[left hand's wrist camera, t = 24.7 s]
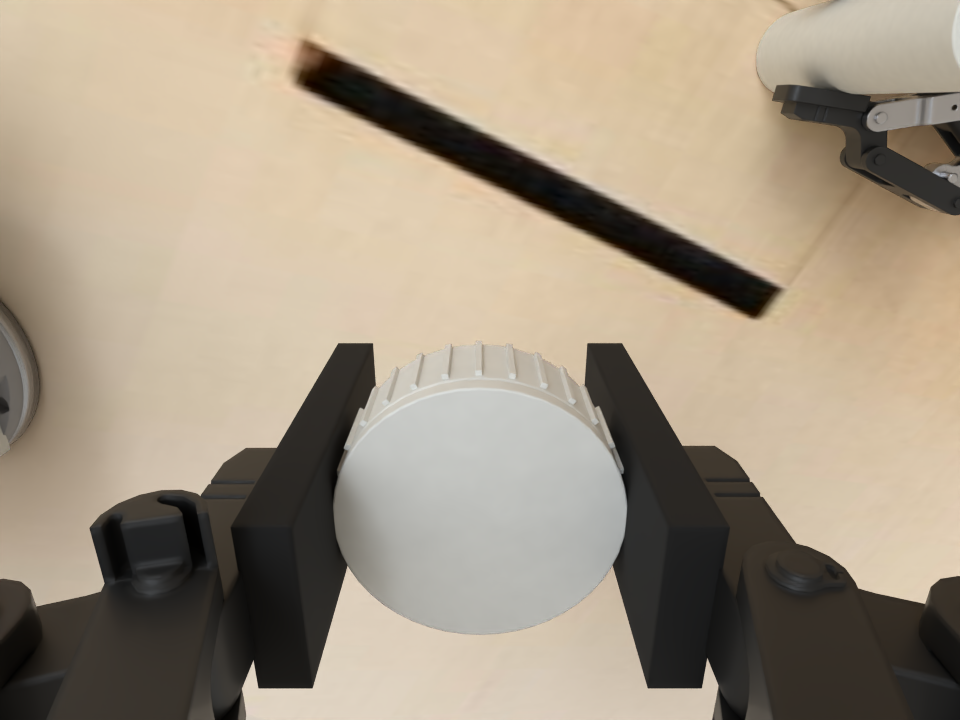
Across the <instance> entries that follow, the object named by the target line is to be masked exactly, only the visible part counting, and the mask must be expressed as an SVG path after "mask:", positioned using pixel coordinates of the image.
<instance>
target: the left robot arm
mask: <svg viewBox="0 0 960 720" xmlns="http://www.w3.org/2000/svg"><path fill="white" fill-rule="evenodd" d="M375 386H376V383H375V368H374V353H373V343H338V345H337V347H336V348H335V350H334V352H333V353H332V355H331V357H330V359H329V360H328V362H327V364H326V365H325V367H324V369H323V370H322V372H321V374H320V376H319V377H318V379H317V381H316V382H315V384H314V386H313V388H312V389H311V391H310V393H309V394H308V396H307V398H306V399H305V401H304V403H303V405H302V406H301V408H300V410H299V411H298V413H297V415H296V416H295V418H294V420H293V422H292V423H291V425H290V427H289V428H288V430H287V432H286V433H285V435H284V437H283V439H282V440H281V442H280V444H279V445H278V447H277V448H245V449H244V450H242V451H241V452H239V453H238V454H237V455H235V456H234V457H232V458H231V459H229V460H228V461H226V462H225V463H224V464H223V465H222V466H221V468H220V469H219V471H218V472H217V473H216V475H215V476H214V478H213V479H212V480H211V484H209V485H208V486H207V487H206V489H205V490H204V492H203V493H202V494H201V497H200V496H199V495H198V494H196V493H192V492H188V491H184V490H161V491H156V492H151V493H147V494H142V495H138V496H136V497H133V498H131V499H128V500H126V501H123V502H121V503H118V504H117V505H115V506H114V507H112V508H111V509H109V510H108V511H106V512H105V513H103V514H101V515H100V516H99V518H98V519H97V520H96V521H95V522H94V523H93V525H92V526H91V527H90V532H91V535H92V539H93V542H94V546H95V550H96V553H97V557H98V561H99V564H100V568H101V572H102V575H103V579H104V583H105V584H104V586H103V589H102V591H101V592H98V593H95V594H91V595H88V596H83V597H79V598H74V599H70V600H65V601H60V602H56V603H51V604H46V605H42V606H37V607H36V605H35V602H34V599H33V596H32V593H31V590H30V589H29V588H28V587H27V586H25V585H24V584H23V583H22V582H20V581H13V580H7V579H0V720H246V711H245V704H244V698H243V692H242V687H243V684H244V682H245V679H246V677H247V674H248V672H249V670H250V667H251V665H252V662H253V660H254V665H255V671H256V676H257V682H258V688H313V685H314V681H315V678H316V674H317V671H318V667H319V664H320V660H321V657H322V653H323V650H324V646H325V643H326V639H327V636H328V632H329V629H330V625H331V622H332V618H333V615H334V611H335V608H336V604H337V601H338V597H339V594H340V590H341V587H342V583H343V580H344V576H345V573H346V569H347V566H348V565H347V563H346V561H345V559H344V557H343V555H342V553H341V551H340V548H339V545H338V542H337V539H336V532H335V523H334V513H333V497H334V489H335V486H336V482H337V479H338V476H337V469H338V466H339V463H340V461H341V458H342V456H343V453H344V451H345V449H344V446H345V443H346V441H347V438H348V436H349V433H350V431H351V428H352V426H353V423H354V421H355V418H356V415H357V413H358V411H359V409H360V408H362V409H365V407H366V405H367V402H368V399H369V397H370V394H371V391H372V389H373V388H374V387H375ZM585 387H586V388H587V391H588V393H589V396H590V399H591V401H592V404H593V405H594V407H595V408H596V407H598V406H599V407H600V409H601V411H602V413H603V416H604V418H605V421H606V423H607V426H608V429H609V431H610V434H611V436H612V439H613V441H614V444H615V447H616V450H617V452H618V455H619V458H620V460H621V463H622V465H623V468H624V471H623V474H621V475H622V479H623V482H624V485H625V489H626V496H627V517H626V527H625V535H624V539H623V542H622V545H621V548H620V551H619V553H618V555H617V557H616V559H615V561H614V563H613V568H614V571H615V575H616V578H617V582H618V585H619V589H620V592H621V596H622V599H623V603H624V606H625V610H626V613H627V617H628V620H629V624H630V627H631V631H632V634H633V638H634V641H635V645H636V648H637V652H638V655H639V659H640V662H641V666H642V669H643V673H644V676H645V680H646V683H647V687H648V688H702V684H703V679H704V673H705V667H706V662H707V658H708V660H709V663H710V665H711V668H712V670H713V673H714V675H715V677H716V680H717V682H718V685H719V687H718V692H717V698H716V703H715V708H714V713H713V719H712V720H960V576H956V577H950V578H943V579H940V580H939V581H938V582H936V583H935V584H934V585H933V586H932V587H931V588H930V591H929V594H928V597H927V600H926V603H925V604H922V603H918V602H913V601H908V600H904V599H899V598H894V597H890V596H885V595H880V594H876V593H872V592H869V591H865V590H862V589H858V587H857V585H856V583H855V581H854V580H853V579H852V577H851V576H850V574H849V573H848V572H847V570H846V569H845V568H844V567H843V566H841V565H840V564H839V563H837V562H836V561H835V560H833V559H832V558H831V557H829V556H827V555H825V554H823V553H821V552H819V551H817V550H814V549H812V548H810V547H807V546H803V545H799V544H796V543H795V541H794V540H793V539H792V537H791V536H790V534H789V533H788V532H787V530H786V529H785V527H784V526H783V525H782V523H781V522H780V520H779V519H778V518H777V516H776V515H775V513H774V512H773V511H772V509H771V508H770V506H769V505H768V504H767V502H766V501H765V499H764V498H763V497H760V492H759V491H758V490H757V488H756V487H755V485H754V484H753V483H752V482H750V478H749V477H748V476H747V474H746V473H745V471H744V470H743V469H742V467H741V466H740V464H739V463H738V462H737V461H736V460H735V459H733V458H732V457H730V456H729V455H727V454H726V453H724V452H723V451H721V450H720V449H718V448H717V447H715V446H682V445H681V443H680V441H679V439H678V438H677V436H676V434H675V433H674V431H673V429H672V428H671V426H670V424H669V422H668V421H667V419H666V417H665V416H664V414H663V412H662V411H661V409H660V407H659V405H658V404H657V402H656V400H655V399H654V397H653V395H652V394H651V392H650V390H649V388H648V387H647V385H646V383H645V382H644V380H643V378H642V377H641V375H640V373H639V371H638V370H637V368H636V366H635V365H634V363H633V361H632V360H631V358H630V356H629V354H628V353H627V351H626V349H625V348H624V346H623V344H622V343H588V344H587V359H586V374H585ZM38 397H39V375H38V369H37V364H36V361H35V357H34V354H33V351H32V349H31V346H30V344H29V342H28V340H27V338H26V336H25V334H24V332H23V330H22V329H21V327H20V326H19V324H18V322H17V321H16V319H15V318H14V317H13V315H12V314H11V313H10V311H9V310H8V309H7V308H6V307H5V306H4V305H3V303H2V302H1V301H0V457H1V456H2V455H3V454H5V453H6V452H7V451H9V450H10V449H11V448H10V446H9V445H11V444H12V443H13V442H15V441H16V440H17V439H18V438H19V437H20V436H21V435H22V434H23V433H24V431H25V430H26V429H27V427H28V426H29V424H30V422H31V420H32V418H33V416H34V414H35V411H36V407H37V404H38Z"/></svg>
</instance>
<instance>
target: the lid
mask: <svg viewBox="0 0 960 720" xmlns="http://www.w3.org/2000/svg"><path fill="white" fill-rule="evenodd" d="M344 449H345V451H344V453H343V456H342V458H341V461H340V463H339V466H338V469H337V476H338V479H337V482H336V486H335V489H334V497H333V513H334V523H335V532H336V539H337V542H338V545H339V548H340V551H341V553H342V555H343V557H344V559H345V561H346V563H347V565H348V567H349V569H350V570H351V571H352V573H353V574H354V576H355V577H356V578H357V580H358V581H359V582H360V583H361V584H362V585H363V587H364V588H365V589H366V590H367V591H368V592H369V593H370V594H371V595H372V596H374V597H375V598H376V599H377V600H378V601H380V602H381V603H382V604H383V605H385V606H387V607H388V608H390V609H391V610H393V611H394V612H396V613H397V614H399V615H401V616H403V617H405V618H407V619H409V620H411V621H414V622H417V623H419V624H422V625H425V626H427V627H431V628H435V629H439V630H442V631H447V632H454V633H460V634H476V635H485V634H500V633H506V632H513V631H518V630H522V629H525V628H529V627H533V626H536V625H538V624H541V623H543V622H546V621H549V620H551V619H553V618H555V617H557V616H559V615H561V614H563V613H564V612H566V611H567V610H569V609H570V608H572V607H573V606H575V605H577V604H578V603H579V602H580V601H582V600H583V599H584V598H585V597H586V596H588V595H589V594H590V593H591V592H592V591H593V590H594V589H595V588H596V587H597V586H598V584H599V583H600V582H601V581H602V580H603V579H604V577H605V576H606V574H607V573H608V571H609V570H610V569H611V567H612V565H613V563H614V561H615V559H616V557H617V555H618V553H619V551H620V548H621V545H622V542H623V539H624V535H625V527H626V517H627V496H626V489H625V485H624V482H623V479H622V475H621V474H623V471H624V468H623V465H622V463H621V460H620V458H619V455H618V452H617V450H616V447H615V444H614V441H613V439H612V436H611V434H610V431H609V429H608V426H607V423H606V421H605V418H604V416H603V413H602V411H601V409H600V407H599V406H598V407H596V408H595V407H594V405H593V404H592V401H591V399H590V396H589V393H588V391H587V388H586V387H585V386H584V384H583V385H581V386H580V387H579V385H578V384H577V383H576V382H575V381H574V380H573V379H572V378H570V377H569V376H568V373H567V370H566V368H564V367H563V366H561V367H560V368H557V367H556V366H554V365H553V364H551V363H549V362H548V361H546V360H544V359H542V356H541V354H540V353H538V352H535V354H534V355H533V354H530V353H527V352H524V351H521V350H517V349H514V348H513V346H512V344H506V347H503V346H497V345H482V341H476V345H463V346H457V347H452V345H451V344H448V345H445V349H442V350H439V351H436V352H433V353H430V354H427V355H425V356H424V355H423V353H420V354H418V355H417V357H416V360H414V361H412V362H411V363H409V364H407V365H406V366H404V367H403V368H401V369H400V370H399V369H398V368H397V367H396V368H394V369H393V370H392V372H391V375H390V378H389V379H387V380H386V381H385V382H384V383H383V384H382V385H381V387H380V388H378V387H377V386H375V387H374V388H373V389H372V391H371V394H370V397H369V399H368V402H367V405H366V407H365V409H362V408H360V409H359V411H358V413H357V415H356V418H355V421H354V423H353V426H352V428H351V431H350V433H349V436H348V438H347V441H346V443H345V446H344Z"/></svg>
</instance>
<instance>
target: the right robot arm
mask: <svg viewBox="0 0 960 720" xmlns="http://www.w3.org/2000/svg"><path fill="white" fill-rule="evenodd" d="M870 98H871V96H865V95H859V94H850V93H846V92H840V91H833V90H827V89H821V88H814V87H808V86H801V85H791V84H788V85H776V88H775V92H774V95H773V99H772V101H777V102H783V103H784V104H783V107H782V111H781V113H782V114H783V115H784V116H786V117H787V118H789V119H794V120H801V121H807V122H813V123H820V124H826V125H833V126H837V127H839V128H841V129H842V130H843V131H844V133H845V137H846V147H845V148H844V149H843V150H842V152H841V154H840V162H841V164H842V165H843V166H844V167H846V168H848V169H850V170H852V171H853V172H855V173H857V174H859V175H861V176H863V177H865V178H866V179H868V180H870V181H872V182H874V183H876V184H878V185H879V186H881V187H883V188H885V189H887V190H889V191H891V192H892V193H894V194H896V195H898V196H900V197H902V198H904V199H905V200H907V201H909V202H911V203H913V204H915V205H917V206H919V207H921V208H925V209H929V210H933V211H937V212H941V213H946V214H950V215H959V214H960V92H933V93H914V94H908V95H902V96H896V97H890V98H888V99H882V100H876V101H870ZM922 125H933V127H934V128H935V129H936V131H937V132H938V134H939V135H940V136H941V138H942V139H943V140H944V142H945V143H946V145H947V146H948V147H949V149H950V150H951V151H952V153H953V154H954V156H955V157H956V158H955V159H954V160H953V161H951V162H950V163H947V164H941V163H930V164H928V165H926V166H925V167H924V168H923V167H922V166H920V165H918V164H916V163H914V162H913V161H911V160H909V159H907V158H905V157H903V156H902V155H900V154H898V153H896V152H894V151H893V150H891V149H889V148H887V130H893V129H899V128H905V127H912V126H922Z"/></svg>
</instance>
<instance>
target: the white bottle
mask: <svg viewBox="0 0 960 720" xmlns="http://www.w3.org/2000/svg"><path fill="white" fill-rule="evenodd" d="M756 67H757V72H758V75H759V77H760V80H761V81H762V83H763V84H764V85H765V86H766V87H767V88H768V89H769V90H770V91H772V92H775V88H776V85H788V84H791V85H801V86H808V87H814V88H821V89H827V90H833V91H840V92H846V93H850V94H893V93H933V92H960V0H831V1H827V2H824V3H820V4H817V5H814V6H810V7H807V8H804V9H800V10H797V11H794V12H791V13H788V14H786V15H784V16H782V17H780V18H779V19H777V20H776V21H775V22H774V23H773V24H772V25H771V26H770V27H769V28H768V29H767V30H766V32H765V33H764V35H763V37H762V39H761V41H760V43H759V46H758V50H757V55H756Z"/></svg>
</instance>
